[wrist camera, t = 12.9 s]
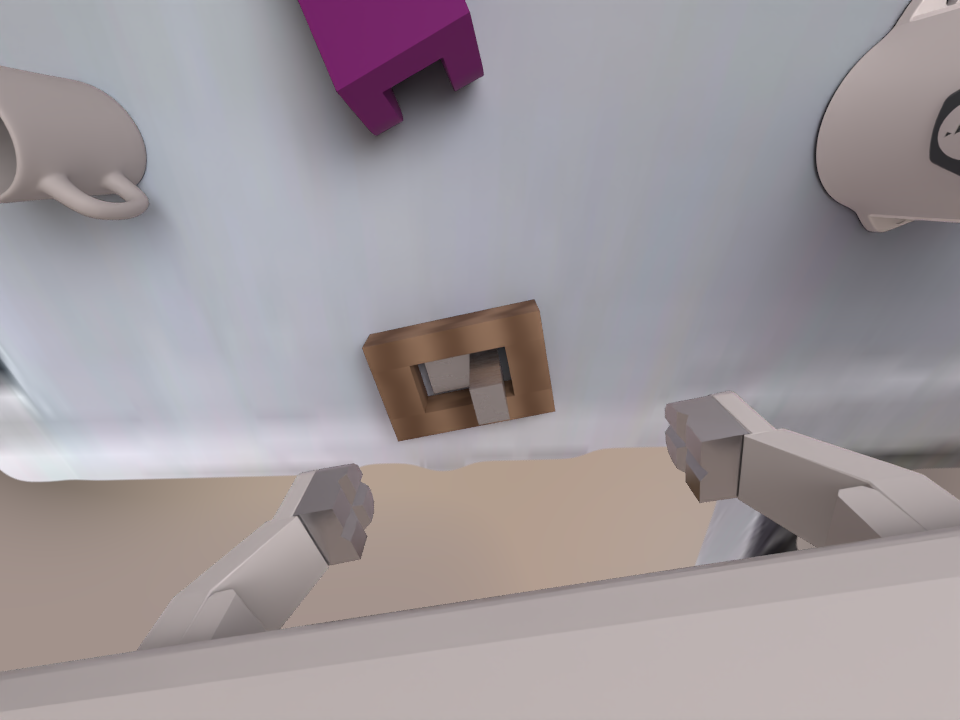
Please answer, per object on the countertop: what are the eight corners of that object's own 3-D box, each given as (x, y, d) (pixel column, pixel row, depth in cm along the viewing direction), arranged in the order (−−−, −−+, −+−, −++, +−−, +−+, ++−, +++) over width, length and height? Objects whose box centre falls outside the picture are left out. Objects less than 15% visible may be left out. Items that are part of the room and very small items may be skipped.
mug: (23, 141, 34) (-158, 132, 24) (60, 53, 31) (-126, 3, 22) (160, 241, 38) (52, 268, 28) (203, 170, 35) (101, 173, 25)
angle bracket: (495, 342, 44) (501, 383, 35) (502, 373, 45) (509, 419, 37) (425, 357, 44) (416, 400, 36) (435, 387, 46) (427, 434, 38)
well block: (534, 299, 41) (539, 310, 38) (549, 394, 47) (555, 411, 44) (369, 334, 43) (362, 348, 40) (402, 423, 48) (398, 441, 45)
